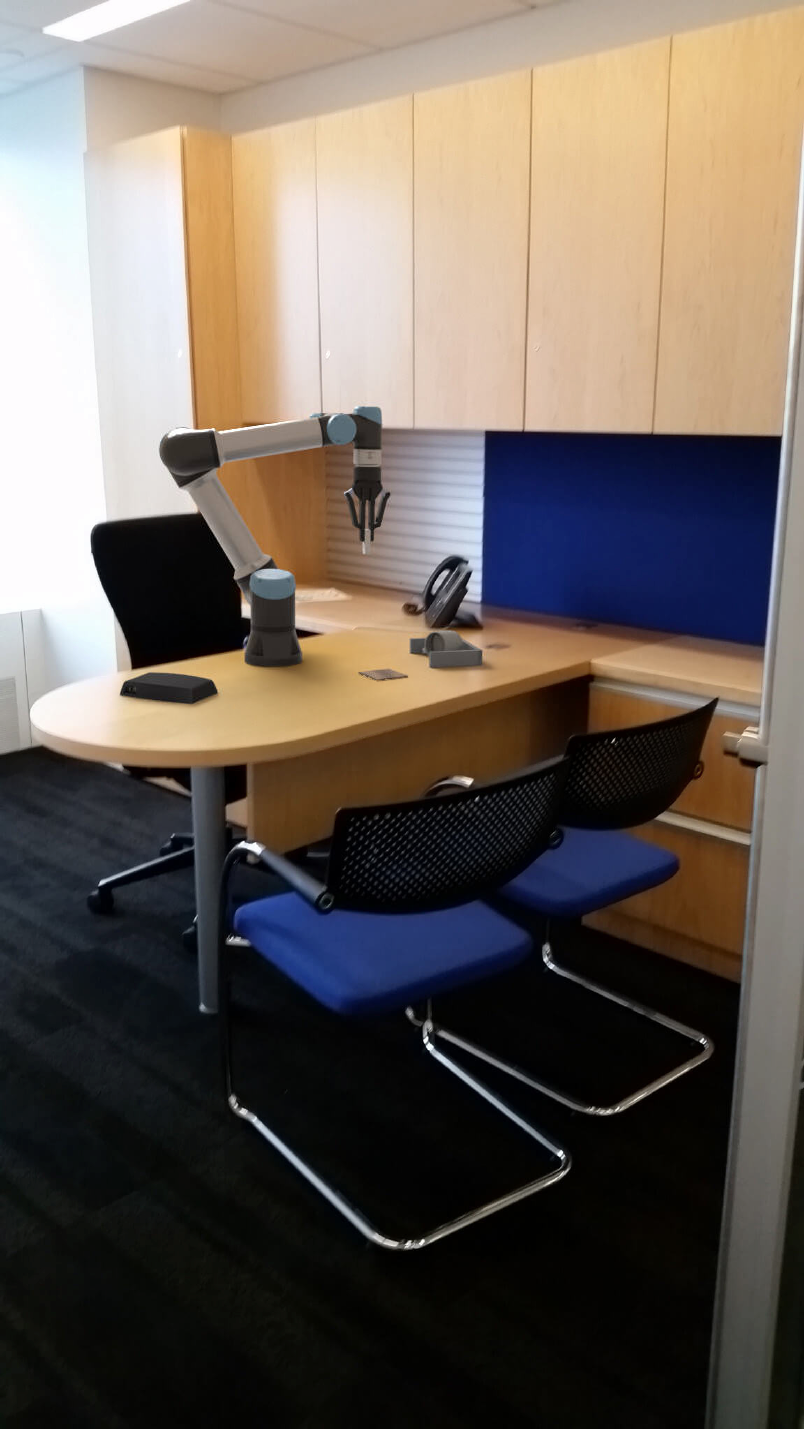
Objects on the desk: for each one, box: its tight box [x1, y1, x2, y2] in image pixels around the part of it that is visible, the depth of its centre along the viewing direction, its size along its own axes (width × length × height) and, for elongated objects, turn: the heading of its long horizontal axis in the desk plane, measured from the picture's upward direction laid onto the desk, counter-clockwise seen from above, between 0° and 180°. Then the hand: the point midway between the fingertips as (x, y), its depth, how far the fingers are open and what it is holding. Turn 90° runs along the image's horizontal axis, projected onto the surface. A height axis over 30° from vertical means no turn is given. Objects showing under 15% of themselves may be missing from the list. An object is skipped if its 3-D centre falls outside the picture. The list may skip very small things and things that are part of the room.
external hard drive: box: [119, 671, 219, 705], centre depth 265 cm, size 13×19×4 cm
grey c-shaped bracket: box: [409, 637, 483, 668], centre depth 308 cm, size 14×19×4 cm
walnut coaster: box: [357, 668, 408, 681], centre depth 288 cm, size 9×9×1 cm
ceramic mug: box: [422, 629, 463, 657], centre depth 310 cm, size 11×8×8 cm
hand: (366, 553), depth 314 cm, fingers closed
